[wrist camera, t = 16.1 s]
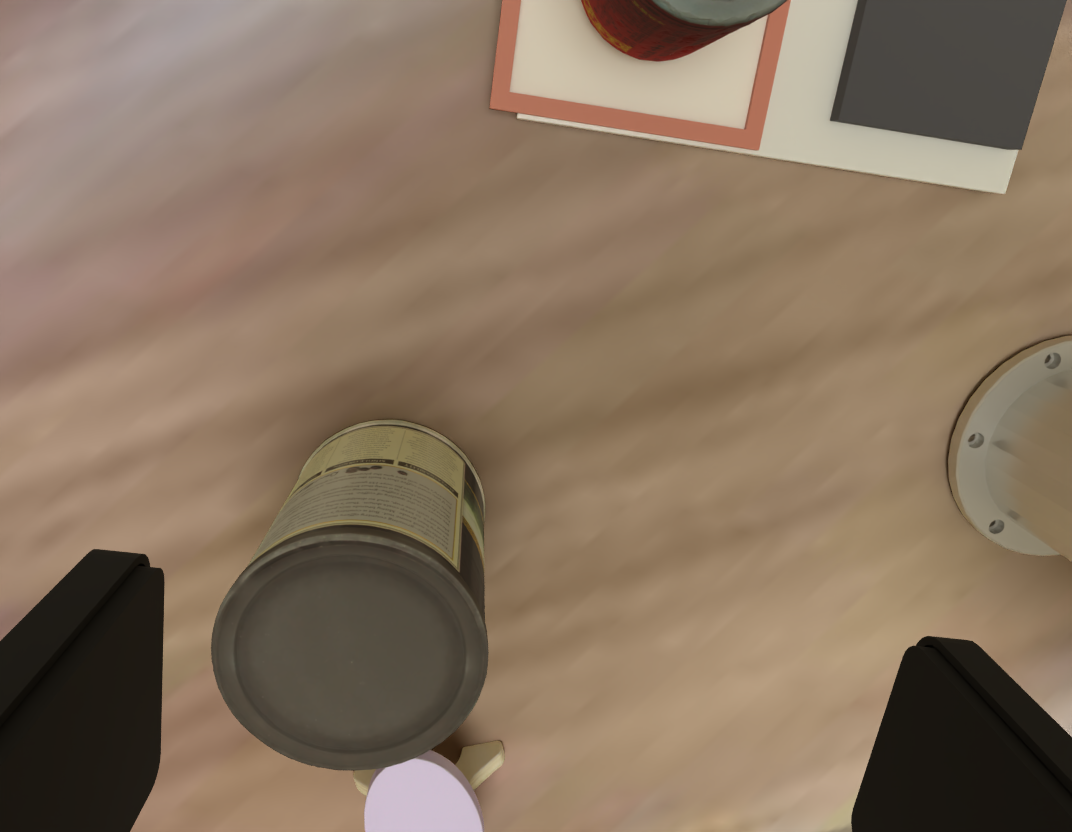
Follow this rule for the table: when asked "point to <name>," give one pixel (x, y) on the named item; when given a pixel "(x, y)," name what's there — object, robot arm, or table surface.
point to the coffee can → (362, 604)
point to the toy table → (429, 791)
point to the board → (815, 140)
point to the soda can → (671, 23)
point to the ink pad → (947, 67)
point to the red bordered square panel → (635, 76)
